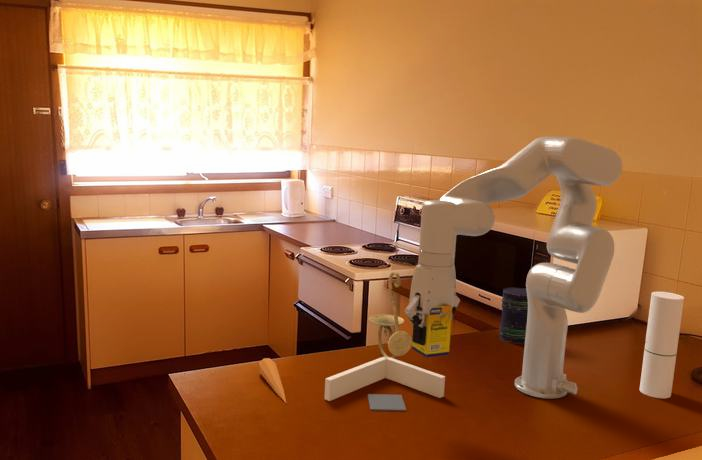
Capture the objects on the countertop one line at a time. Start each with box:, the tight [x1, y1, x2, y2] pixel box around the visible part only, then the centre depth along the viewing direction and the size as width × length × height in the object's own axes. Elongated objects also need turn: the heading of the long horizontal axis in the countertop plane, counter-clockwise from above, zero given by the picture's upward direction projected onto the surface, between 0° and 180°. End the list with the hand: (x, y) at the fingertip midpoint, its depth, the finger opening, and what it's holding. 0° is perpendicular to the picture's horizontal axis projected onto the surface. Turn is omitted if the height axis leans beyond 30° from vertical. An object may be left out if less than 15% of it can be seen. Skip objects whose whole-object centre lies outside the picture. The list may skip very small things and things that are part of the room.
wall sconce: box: [368, 270, 413, 359], centre depth 172 cm, size 14×10×25 cm
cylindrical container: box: [639, 291, 685, 399], centre depth 158 cm, size 7×7×25 cm
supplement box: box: [411, 305, 452, 359], centre depth 138 cm, size 6×6×11 cm
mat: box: [367, 393, 407, 412], centre depth 147 cm, size 8×8×1 cm
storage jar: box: [498, 287, 528, 345], centre depth 196 cm, size 10×10×15 cm
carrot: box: [258, 357, 287, 404], centre depth 153 cm, size 20×4×4 cm, turn 21°
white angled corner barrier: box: [324, 355, 446, 402], centre depth 149 cm, size 18×22×5 cm
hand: (431, 339), depth 138 cm, fingers closed on supplement box, 7 cm apart
